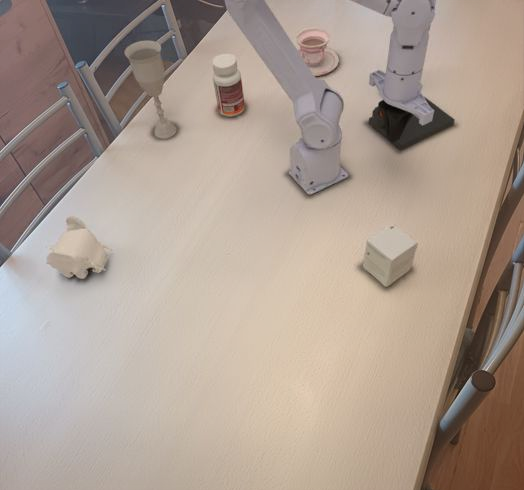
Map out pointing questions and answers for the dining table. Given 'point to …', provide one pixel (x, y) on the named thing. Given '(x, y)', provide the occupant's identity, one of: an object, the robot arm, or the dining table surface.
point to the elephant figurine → (77, 251)
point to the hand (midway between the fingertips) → (393, 139)
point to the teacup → (316, 50)
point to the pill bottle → (228, 85)
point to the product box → (389, 254)
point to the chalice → (150, 79)
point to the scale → (414, 126)
